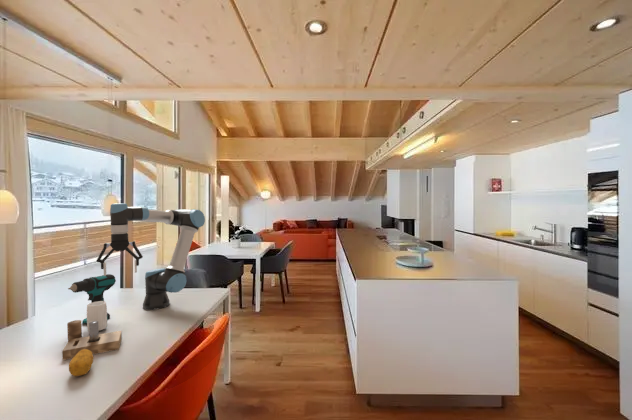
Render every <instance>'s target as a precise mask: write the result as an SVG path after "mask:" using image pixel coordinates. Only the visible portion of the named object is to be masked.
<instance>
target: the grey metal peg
mask: <svg viewBox="0 0 632 420" xmlns="http://www.w3.org/2000/svg"><path fill="white" fill-rule="evenodd" d="M99 331H100V330H98V321H93V322H90V323H89V331H88V333H89V335H88V336H89V341H90V342H96V341H99V334H100V333H99Z"/></svg>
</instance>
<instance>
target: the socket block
mask: <svg viewBox="0 0 632 420" xmlns="http://www.w3.org/2000/svg"><path fill="white" fill-rule="evenodd" d="M122 332H123V331H122V330H117V331H111V332H106V333H99V341H96V342H90V341H89V335H88V336H82V337H81V338H76V339H70V340H69V341H68V340H67V343H66V345H64V347H63V349H62V350H61V351H62V352H61V353H62V354H61V357H62V361H66V360H72V359H73V357H75V356H76V354H77V353H78V352H79V351H81V350H83V349H87V350H90V351H91V352H92V355H96V354H102V353H107V352H113V351H119V350H120V347H121V343H122V339H123V337H122V336H123V335H122Z"/></svg>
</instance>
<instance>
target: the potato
mask: <svg viewBox="0 0 632 420" xmlns="http://www.w3.org/2000/svg"><path fill="white" fill-rule="evenodd" d="M94 359H95V358H94V354H92V352H91V351H90V350H87V349H83V350H81V351H79V352H78V353H77V354H76V356H75V357H73V358H72V359H70V361H69V363H68V372H69V373H70V375H71V376H74V377H79V376H84V375H87V374H88V372H89V371H90V370H91V368H92V365H93V363H94Z"/></svg>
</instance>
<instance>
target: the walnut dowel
mask: <svg viewBox="0 0 632 420" xmlns="http://www.w3.org/2000/svg"><path fill="white" fill-rule="evenodd" d="M82 333H83V330H82V320H81V319H76V320H72V321H69V322H67V342H68V341H69V340H70V339H76V338H81V337H83V334H82Z"/></svg>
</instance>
